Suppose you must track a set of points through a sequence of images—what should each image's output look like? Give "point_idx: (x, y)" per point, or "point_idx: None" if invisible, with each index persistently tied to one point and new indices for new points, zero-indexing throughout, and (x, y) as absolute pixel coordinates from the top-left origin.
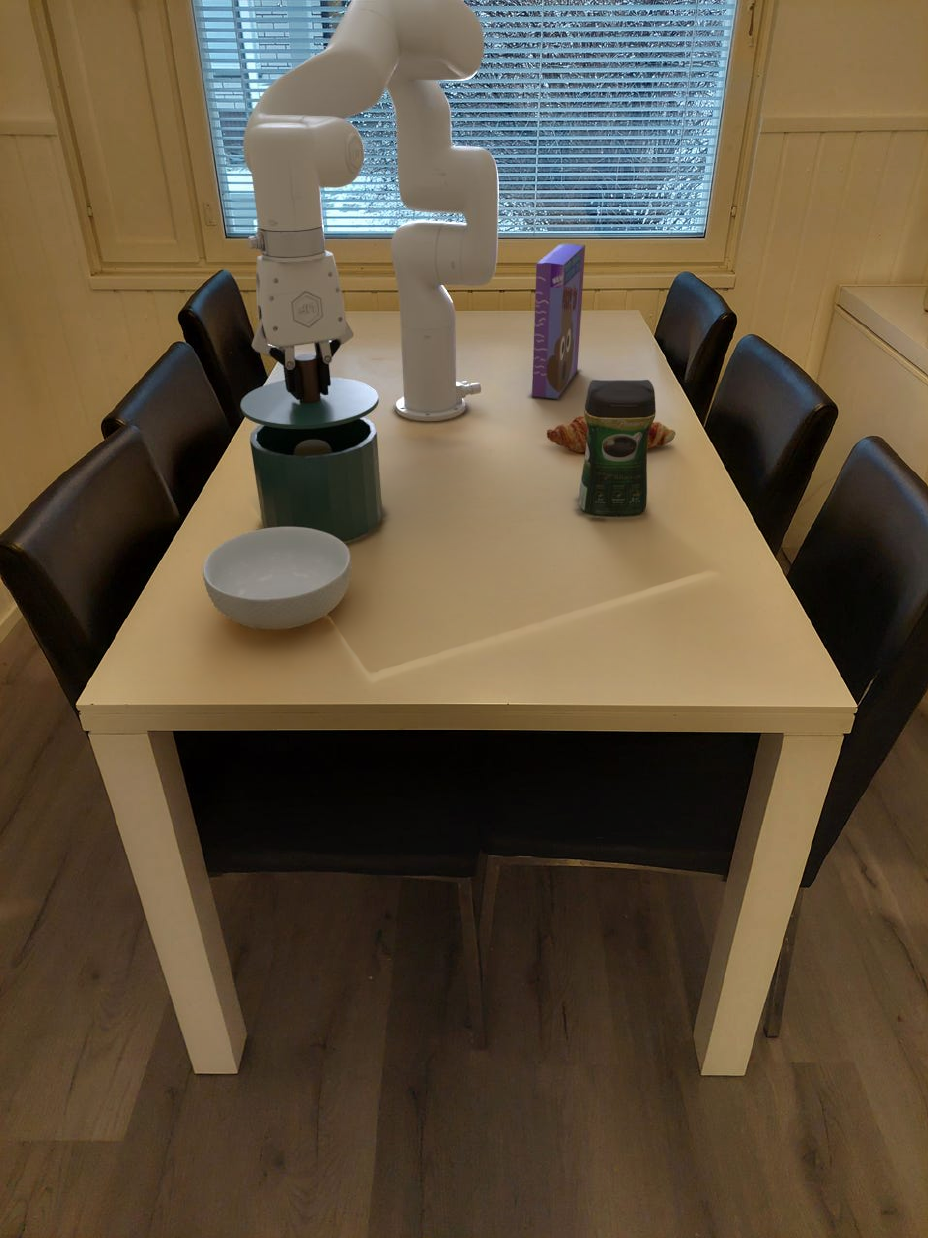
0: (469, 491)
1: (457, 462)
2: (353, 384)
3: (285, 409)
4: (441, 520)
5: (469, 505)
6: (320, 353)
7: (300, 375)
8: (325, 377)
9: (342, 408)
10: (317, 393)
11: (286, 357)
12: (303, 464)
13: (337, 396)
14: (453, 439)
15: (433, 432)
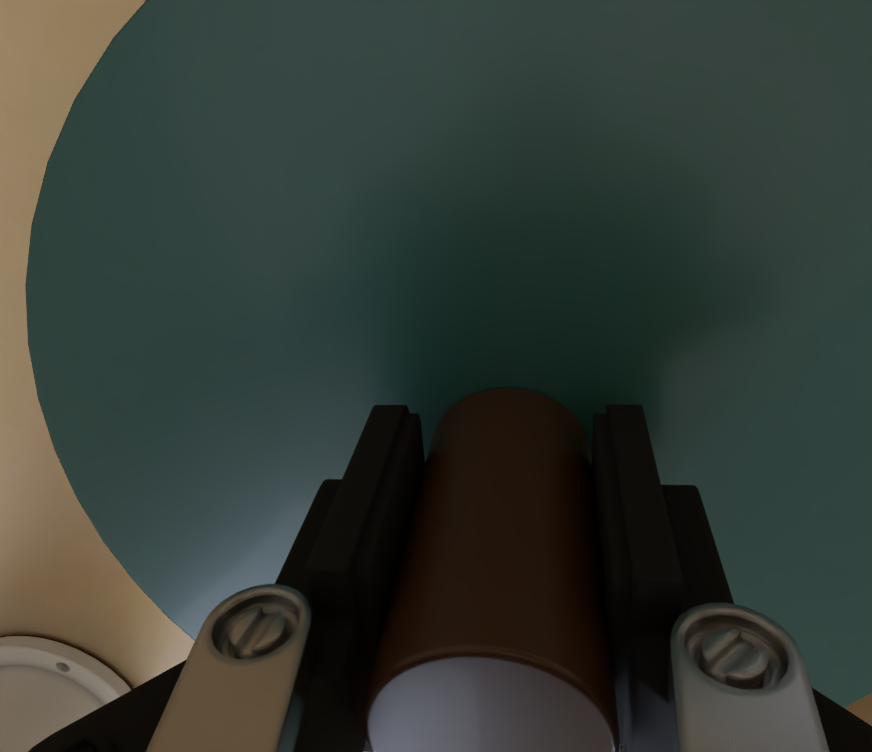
0: (7, 194)
1: (23, 399)
2: (174, 556)
3: (765, 342)
4: (131, 13)
5: (18, 89)
6: (303, 740)
7: (587, 563)
8: (355, 481)
9: (327, 155)
10: (459, 427)
11: (807, 744)
12: None
13: (311, 416)
14: (19, 532)
15: (69, 590)
